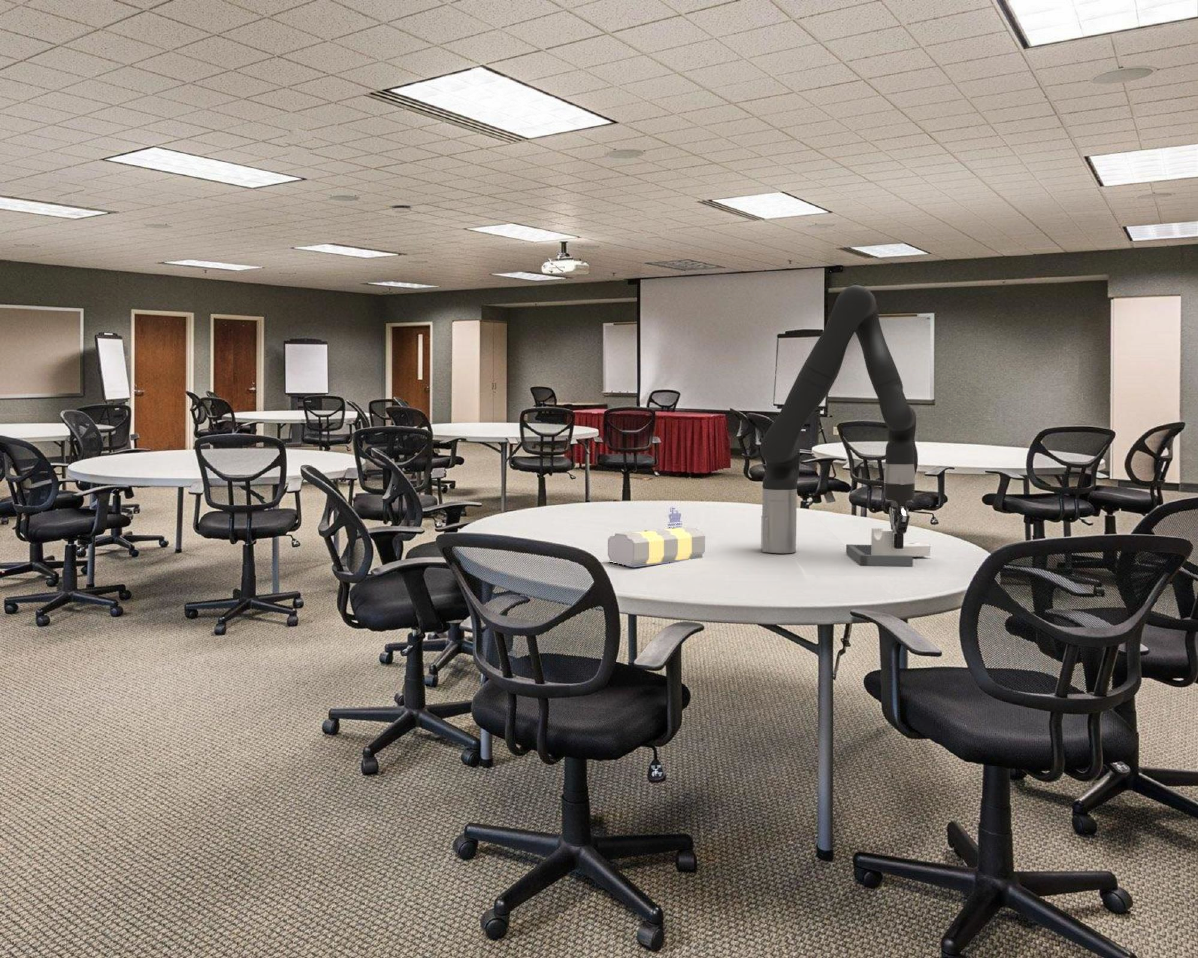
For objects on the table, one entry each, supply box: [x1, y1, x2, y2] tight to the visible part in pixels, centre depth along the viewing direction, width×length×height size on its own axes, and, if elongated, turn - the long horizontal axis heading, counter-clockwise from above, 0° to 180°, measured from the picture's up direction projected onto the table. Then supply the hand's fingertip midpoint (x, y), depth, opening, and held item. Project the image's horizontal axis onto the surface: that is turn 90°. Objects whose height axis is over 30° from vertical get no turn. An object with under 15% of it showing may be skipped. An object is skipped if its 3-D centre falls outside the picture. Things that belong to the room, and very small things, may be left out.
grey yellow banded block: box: [607, 506, 706, 568], centre depth 236 cm, size 25×10×13 cm, turn 129°
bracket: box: [870, 527, 931, 558], centre depth 239 cm, size 13×7×8 cm, turn 99°
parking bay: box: [845, 544, 914, 567], centre depth 235 cm, size 12×21×2 cm, turn 174°
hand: (898, 548), depth 234 cm, fingers closed
